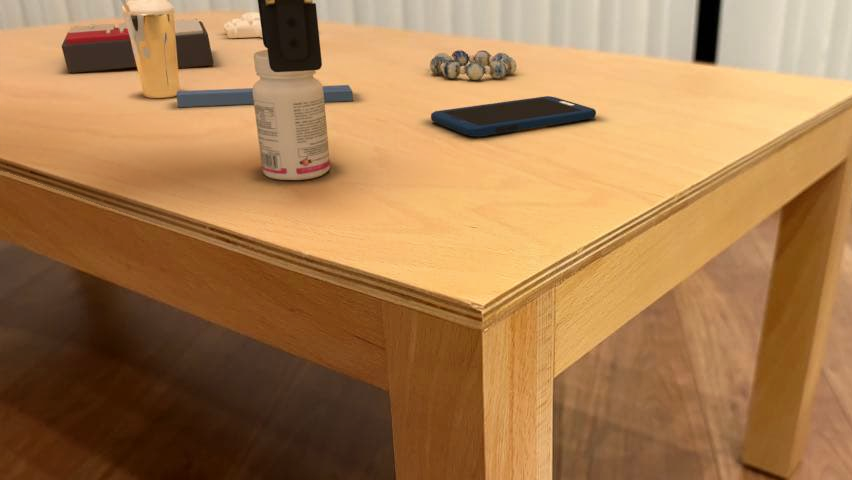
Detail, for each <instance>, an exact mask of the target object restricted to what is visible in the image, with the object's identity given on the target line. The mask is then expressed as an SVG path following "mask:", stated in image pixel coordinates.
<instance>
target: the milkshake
mask: <svg viewBox="0 0 852 480" xmlns="http://www.w3.org/2000/svg"><path fill="white" fill-rule="evenodd" d="M120 1H121V3H122V7H121V13H122V15H123V20H124V23H126V27H127V30H128V34H129V37H130V41H131V45H132V49H133V53H134V57H135V61H136V65H137V67H136V69H137V72H138V76H139V80H140V85H141V88H142V93H143V96H144V97H147V98H150V99H151V98H152V99H166V98H167V99H169V98H172V97H177V96H176V95H177V91H181V87H180V76H179V68H178V61H177V49H176V35H175V21H176V18H175V17H176V15H175V7H174V5H172V3H171V2H170V1H169V0H127V1H126V0H120Z"/></svg>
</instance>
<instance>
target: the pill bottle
mask: <svg viewBox="0 0 852 480" xmlns="http://www.w3.org/2000/svg"><path fill="white" fill-rule="evenodd" d="M253 61H254V70H255V75H256V76H257V77H259V80H257V81H256V82H255V83H254V84H253V85H252V88H253V100H254V104H253V107H254V115H255V122H256V123H255V125H256V131H257V139H258V140H257V141H258V146H259V154H260V163H261V168H262V169H261V170H262V173H263V174H264V175H265V176H266V177H268V178H269V179H274V180H280V181H305V180H310V179H316V178H319V177H321V176H324V175H325V174H326V173H328V171H329V170H330V169H331V159H330V147H329V136H328V126H327V115H326V105H325V102H324V93H323V87H322V86H323V84H322V82H321V81H320V80H319V79H317V78H315V77H314V75H316V73H317V70H311V71H292V72H274V71H272V70H271V68H270V65H269V58H268V50H267V49H264V50H259V51H256V52H254V53H253Z"/></svg>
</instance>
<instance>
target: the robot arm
mask: <svg viewBox="0 0 852 480" xmlns="http://www.w3.org/2000/svg"><path fill="white" fill-rule="evenodd" d="M257 5H258V13H259V14H260V22H261V29H262V37H263V38H262V43H263V46H264V47H265V48H266V50H268V58H269V65H270V68H271V70H272V71H274V72H292V71H311V70H315V71H318V70H320V69H321V68H322V66H323V61H322V51H321V42H320V41H321V40H320V31H319V22H318V21H319V20H318V11H317V4H316V3H315V2H313V0H257Z"/></svg>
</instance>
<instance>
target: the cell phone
mask: <svg viewBox="0 0 852 480" xmlns="http://www.w3.org/2000/svg"><path fill="white" fill-rule="evenodd" d="M596 114H597V111H596V109H595V108H593V107H590V106H585V105H583V104H579V103H576V102H573V101H569V100H566V99H564V98H560V97H556V96H549V95H545V96H538V97H530V98H522V99H515V100H508V101H500V102H493V103H486V104H479V105H472V106H464V107H457V108H449V109H442V110H435V111H433V112H431V113H430V119H431V121H432V122H433V123H436V124H439V125H440V126H442V127H443V126H444V127H446V128H448V129H450V130H454V131H456V132H459V133H461V134H463V135H466V136H469V137H486V136H493V135H497V134H504V133H510V132H511V133H512V132H517V131H523V130H530V129H536V128H542V127H548V126H554V125H561V124H566V123H574V122H580V121H586V120H591V119H595V118H596Z"/></svg>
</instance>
